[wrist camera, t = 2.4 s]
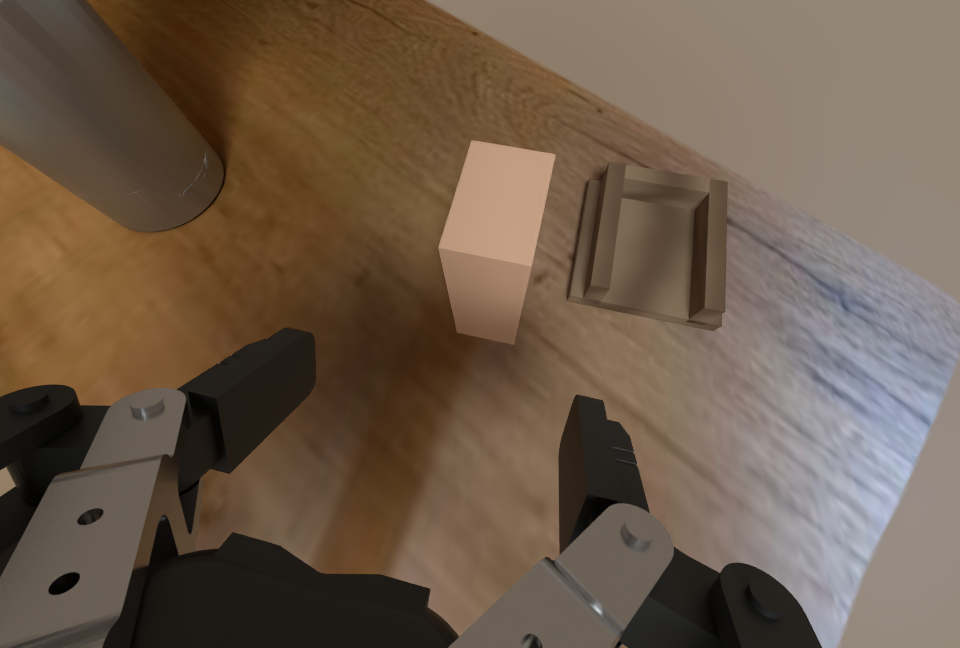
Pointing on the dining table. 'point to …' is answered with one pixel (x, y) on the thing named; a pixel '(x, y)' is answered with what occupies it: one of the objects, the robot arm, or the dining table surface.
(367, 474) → the dining table surface
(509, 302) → the clay block
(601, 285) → the tray
